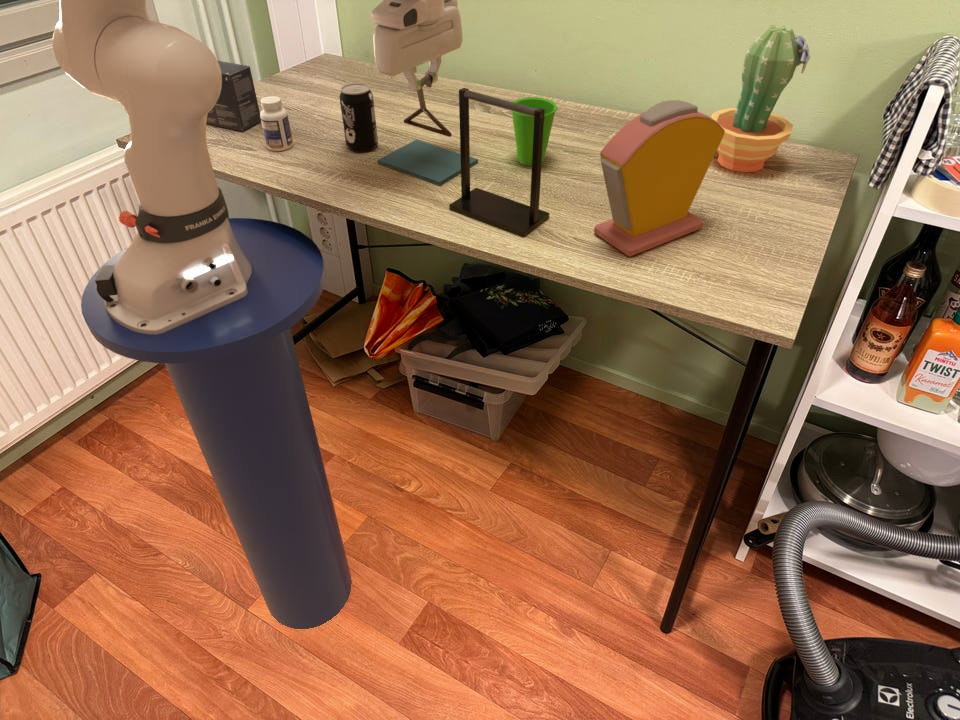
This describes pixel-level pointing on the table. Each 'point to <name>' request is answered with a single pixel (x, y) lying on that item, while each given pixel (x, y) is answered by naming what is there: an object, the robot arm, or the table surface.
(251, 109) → the small box
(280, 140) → the pill bottle
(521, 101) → the cup
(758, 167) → the potted cactus
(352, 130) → the beverage can
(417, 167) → the mat
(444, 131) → the hanger
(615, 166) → the yellow fan-shaped flat fixture
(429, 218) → the table surface
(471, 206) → the rack
